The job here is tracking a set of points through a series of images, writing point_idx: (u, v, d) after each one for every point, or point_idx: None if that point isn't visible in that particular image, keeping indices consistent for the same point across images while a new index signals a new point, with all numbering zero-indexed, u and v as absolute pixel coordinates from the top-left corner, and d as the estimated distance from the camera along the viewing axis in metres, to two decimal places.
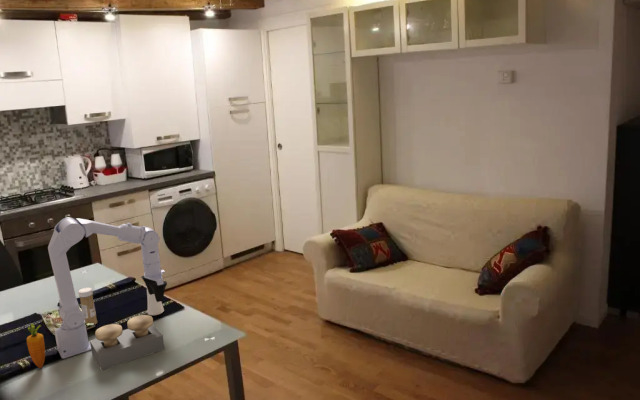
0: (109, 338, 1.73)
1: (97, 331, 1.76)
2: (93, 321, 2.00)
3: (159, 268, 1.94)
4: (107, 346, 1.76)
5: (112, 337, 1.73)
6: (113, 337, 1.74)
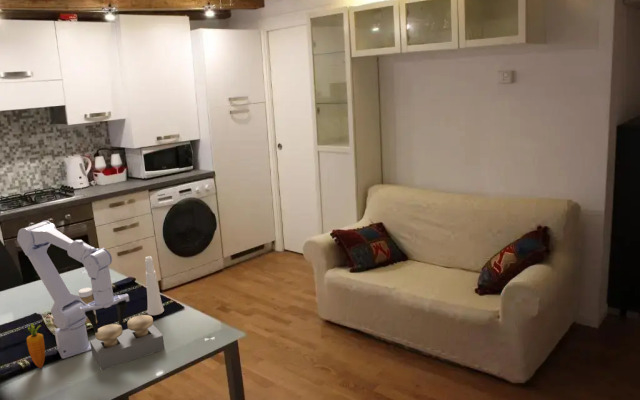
0: (109, 338, 1.73)
1: None
2: None
3: (97, 299, 1.71)
4: (107, 346, 1.76)
5: (112, 337, 1.73)
6: (113, 337, 1.74)
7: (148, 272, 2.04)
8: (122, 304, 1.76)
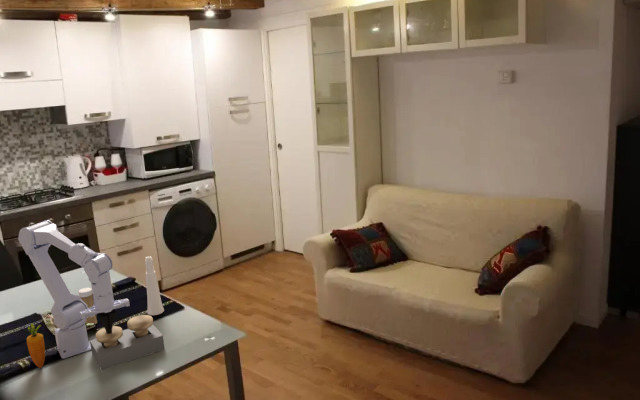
0: (109, 340, 1.73)
1: (97, 333, 1.76)
2: (93, 321, 2.00)
3: (98, 303, 1.71)
4: None
5: (113, 339, 1.74)
6: (113, 339, 1.74)
7: (148, 272, 2.04)
8: (111, 312, 1.74)
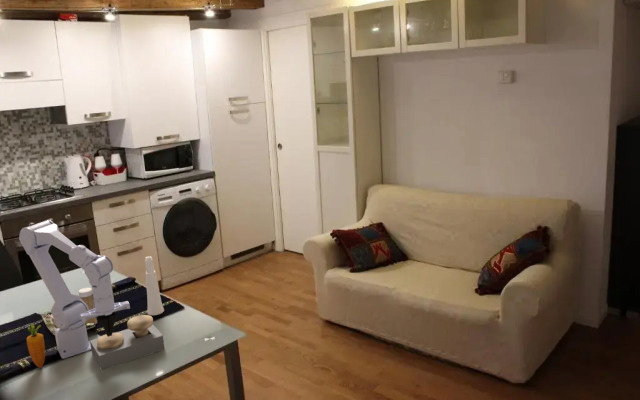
0: (110, 347, 1.74)
1: (98, 340, 1.77)
2: (93, 321, 2.00)
3: (98, 306, 1.71)
4: None
5: (114, 346, 1.74)
6: (114, 346, 1.74)
7: (148, 272, 2.04)
8: (111, 315, 1.74)
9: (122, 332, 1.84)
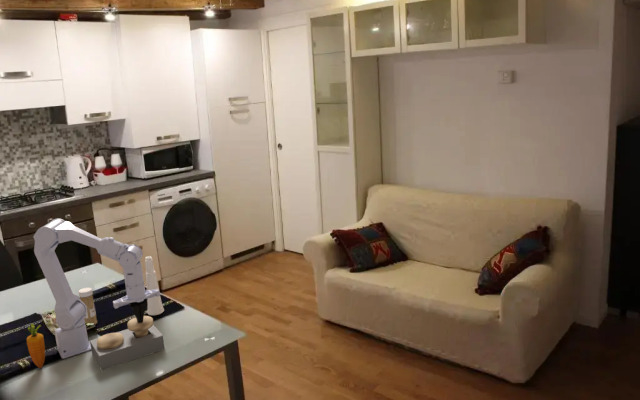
0: (110, 347, 1.74)
1: (98, 340, 1.77)
2: (93, 321, 2.00)
3: (130, 293, 1.76)
4: None
5: (114, 346, 1.74)
6: (114, 346, 1.74)
7: (148, 272, 2.04)
8: (143, 302, 1.79)
9: (122, 332, 1.84)
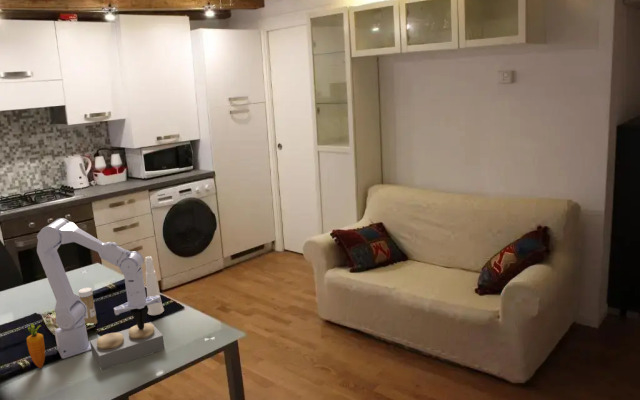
0: (110, 347, 1.74)
1: (98, 340, 1.77)
2: (93, 321, 2.00)
3: (131, 300, 1.77)
4: None
5: (114, 346, 1.74)
6: (114, 346, 1.74)
7: (148, 272, 2.04)
8: (143, 308, 1.80)
9: (122, 332, 1.84)
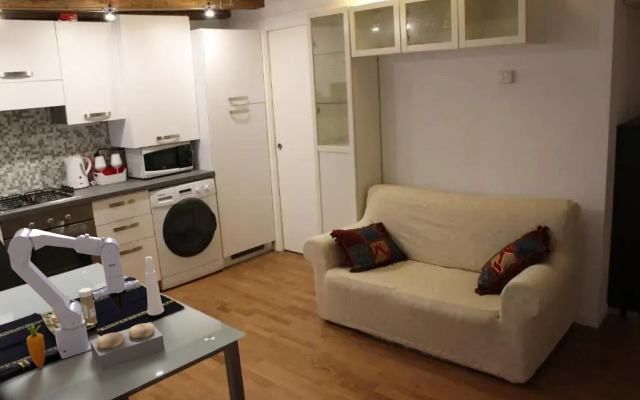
0: (110, 347, 1.74)
1: (98, 340, 1.77)
2: (93, 321, 2.00)
3: (110, 284, 1.81)
4: None
5: (114, 346, 1.74)
6: (114, 346, 1.74)
7: (148, 272, 2.04)
8: (122, 293, 1.84)
9: (122, 332, 1.84)
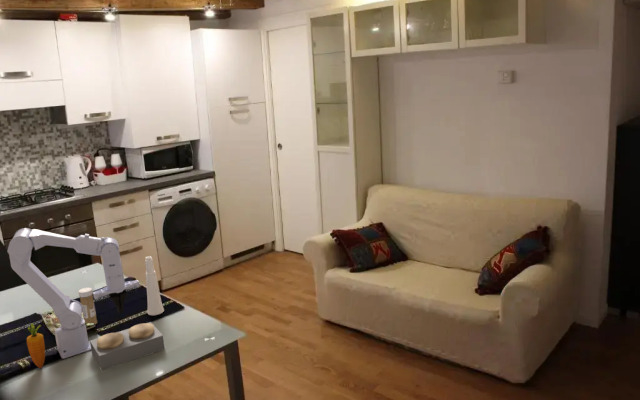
0: (110, 347, 1.74)
1: (98, 340, 1.77)
2: (93, 321, 2.00)
3: (110, 284, 1.81)
4: None
5: (114, 346, 1.74)
6: (114, 346, 1.74)
7: (148, 272, 2.04)
8: (122, 293, 1.84)
9: (122, 332, 1.84)
